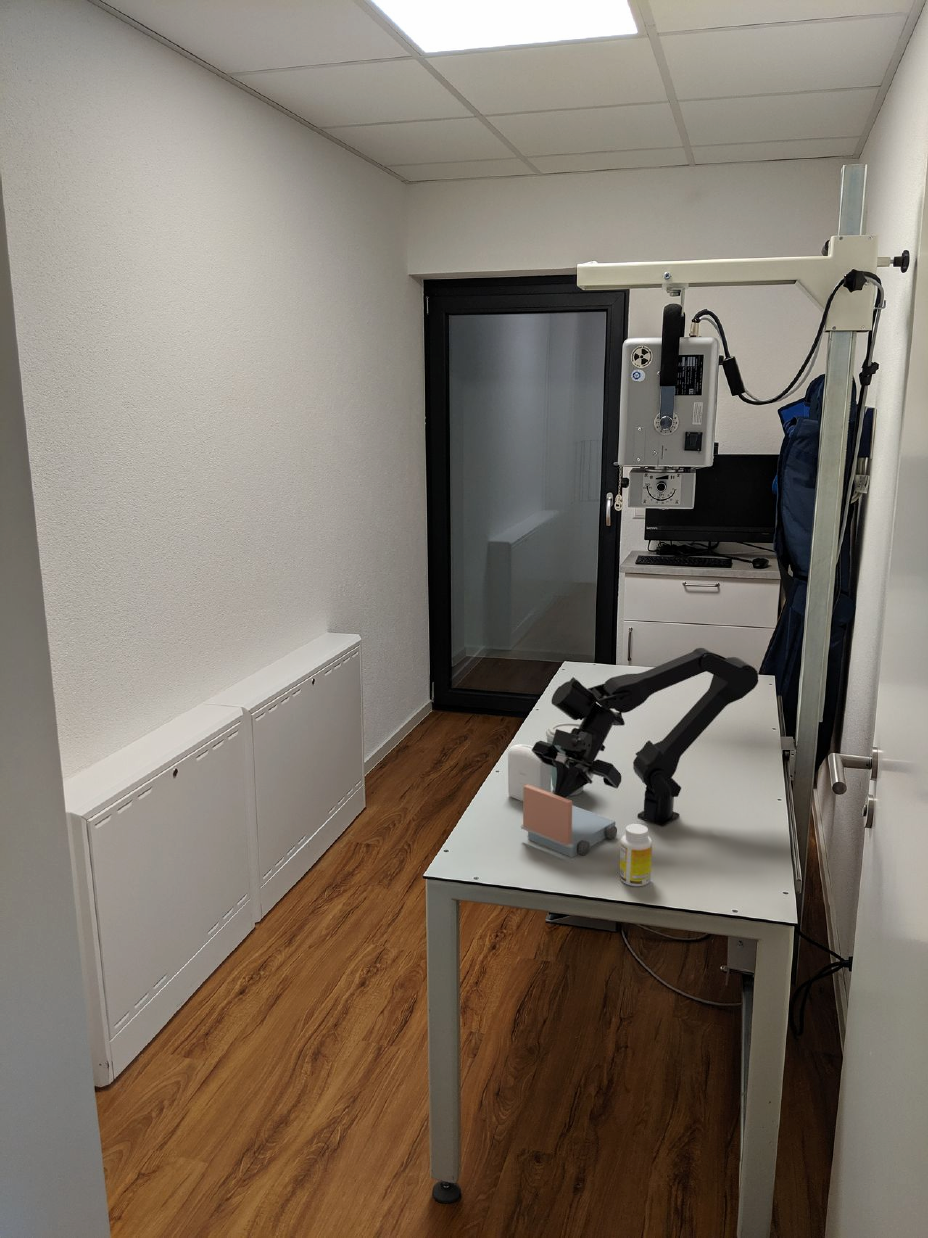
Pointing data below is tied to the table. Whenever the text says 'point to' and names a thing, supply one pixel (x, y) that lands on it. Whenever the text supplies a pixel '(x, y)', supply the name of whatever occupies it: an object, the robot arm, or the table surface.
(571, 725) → the disposable coffee cup
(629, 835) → the supplement bottle
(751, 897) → the table surface
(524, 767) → the photo printer
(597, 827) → the cart bed
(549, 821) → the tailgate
